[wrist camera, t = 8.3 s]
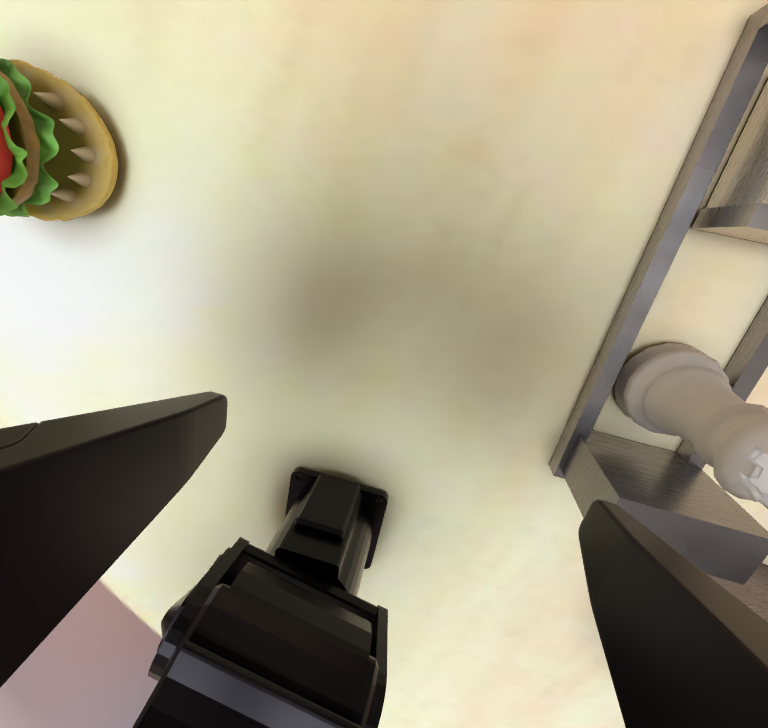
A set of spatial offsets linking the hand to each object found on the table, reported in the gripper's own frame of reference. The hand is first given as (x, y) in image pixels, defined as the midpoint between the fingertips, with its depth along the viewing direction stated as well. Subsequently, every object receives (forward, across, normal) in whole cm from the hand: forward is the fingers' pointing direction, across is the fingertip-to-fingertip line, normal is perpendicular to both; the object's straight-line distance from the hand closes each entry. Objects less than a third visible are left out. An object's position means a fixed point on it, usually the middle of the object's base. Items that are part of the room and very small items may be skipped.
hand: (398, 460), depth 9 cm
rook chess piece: (+12, -12, 0) cm, 17 cm away
